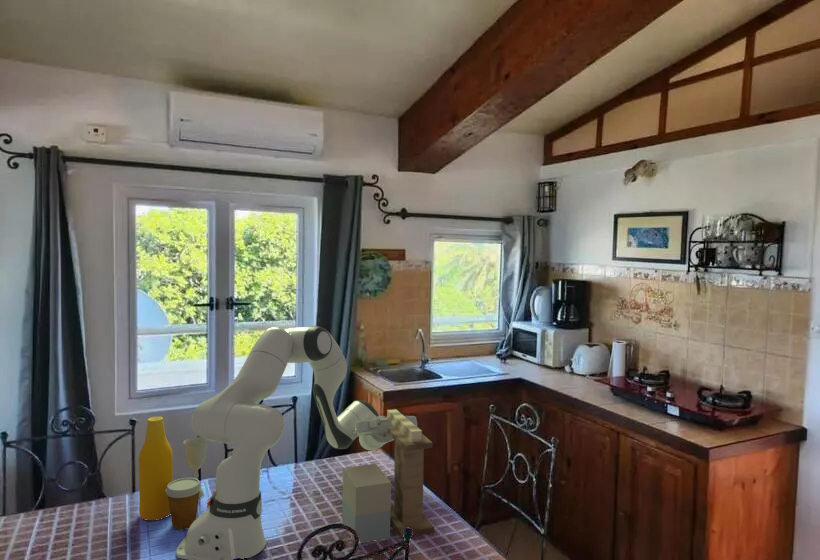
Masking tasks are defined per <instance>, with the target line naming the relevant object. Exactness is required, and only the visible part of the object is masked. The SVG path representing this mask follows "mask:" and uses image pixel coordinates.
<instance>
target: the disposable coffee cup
mask: <svg viewBox="0 0 820 560" xmlns="http://www.w3.org/2000/svg"><path fill="white" fill-rule="evenodd" d="M200 489H202V484H201V482H200V480H199V478H198V479H196V478H194V477H183V478H181V477H180V478H177V479H173V481H172V482H170V483H169V484H168V486H167V489H166V493H167V495H168V501H169V508H170V514H171V515H170V520H171V527H172V526H173V527H172V529H174V528H176V529H184V530H187V529H186V528H188V529H189V527H190V526H191V524H192V523H193V522H194V521H195V520H196V519H197V518H198V517H197V516H198V507H199V501H200V500H199V492H200ZM176 529H175V530H176Z"/></svg>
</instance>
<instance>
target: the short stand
mask: <svg viewBox="0 0 820 560" xmlns="http://www.w3.org/2000/svg"><path fill="white" fill-rule="evenodd" d="M387 433H388V434H389V435H390V436H391V437H392V438H393V439H394V440H393V441H394V468H393V469H394V473H393V474H394V476H393V477H394V481H393V482H394V485H393V487H394V489H393V505H391V511H390V525H391V526H392V527H393V529H394V530H395V532H396V533H397V534H398V536H399V537H400V539H404V538H403V530H404V529H405V528H406V527H409V528H412V529H413V535H412V537H416V536H417V537H418V536H422V535H423V536H424V535H427V534H434V533H435V526H434V525H433V524H432V522H431V521H430V520H429V518H427V516H426V515H425V514H424V457H425V456H424V455H425V454H424V453H425V451H424V450H425V449H432V448H433V444H434V443H433V442H432V440H430V438H428V437H427V436H426V435H424V434H423V433H422V441H419V442H411V441H410V440H409V439H408V438H406V437H405V436H404V435H403V434H402V433H401V432H400V431H399V430H398V429H397V428H396V427H391V428H387Z"/></svg>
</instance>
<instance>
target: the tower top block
mask: <svg viewBox="0 0 820 560" xmlns="http://www.w3.org/2000/svg"><path fill="white" fill-rule="evenodd" d="M391 493H392V482H391V480H390V479H389V478H388V476H386V474H385V473H384V472H383V471H382V469H381V468H380V467H379V466H378V464H377V463H371V464H364V465H355V466H349V467H342V495H343V496H344V498H345V499H346V501H347V503H348V504H349V506H350V508H351V509H352V511H353V513H354V514H355V516H362V515H368V514H373V513H379V512H385V511H391V506H392V503H391V502H392V494H391Z"/></svg>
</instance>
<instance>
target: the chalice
mask: <svg viewBox="0 0 820 560" xmlns="http://www.w3.org/2000/svg"><path fill="white" fill-rule="evenodd" d="M208 441H209V440H206V439H204V438H201V437H199V436H197V437H190V438H187V439H185V440H183V444H184V446H185V451H184V452H185V453H184V454H185V456H184V457H185V460H186V463H188V466H189V467H190V469H191V470H193V471H194V474H193V478H196V479H198V480H199V476H200V475H199V470H200V469H201V468H202V467H203V464H204V462H205V460H206V457H207V443H208ZM204 494H205V493H204V490H203V488H201V489H200V492H199V498H200V497H202V496H204ZM204 497H205V496H204ZM202 498H203V497H202ZM200 499H201V498H200Z"/></svg>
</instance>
